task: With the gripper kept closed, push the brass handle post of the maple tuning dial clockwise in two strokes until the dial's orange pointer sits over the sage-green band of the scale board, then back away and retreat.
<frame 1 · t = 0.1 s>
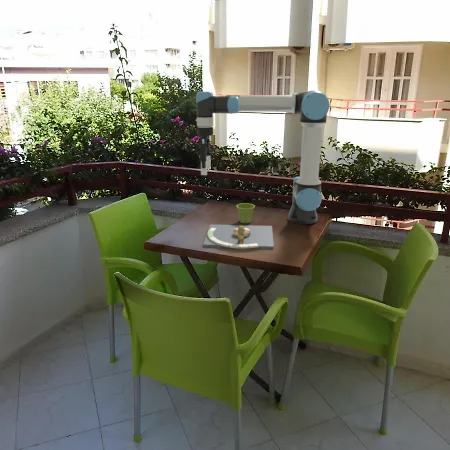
hand: (206, 171, 187), 28 cm above the table, fingers open, 13 cm apart
scale board: (241, 237, 182), on the table
plant pot: (245, 222, 203), on the table
dial: (241, 230, 176), point 5 cm above the table, hinge at 90.0°
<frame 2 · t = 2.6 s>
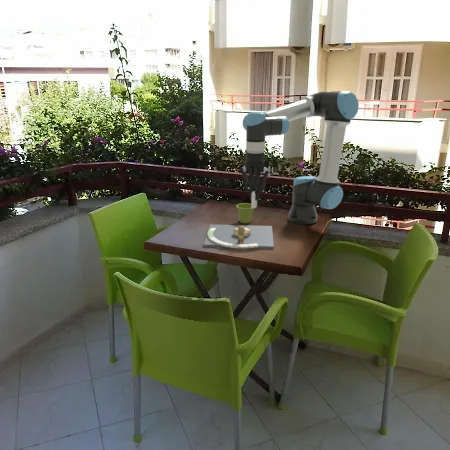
hand: (254, 207, 165), 18 cm above the table, fingers closed
nothing on the table moved.
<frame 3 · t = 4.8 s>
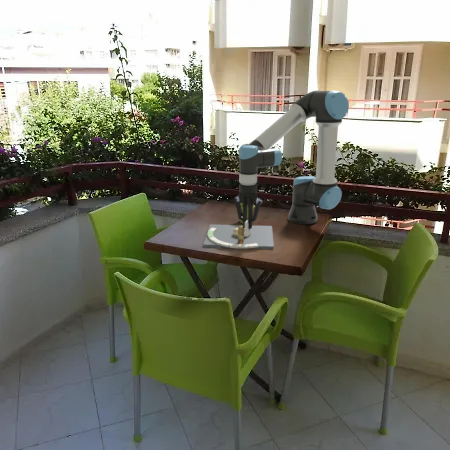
hand: (247, 235, 171), 5 cm above the table, fingers closed
dial: (241, 230, 176), point 5 cm above the table, hinge at 90.0°, touching gripper
everything else where it was.
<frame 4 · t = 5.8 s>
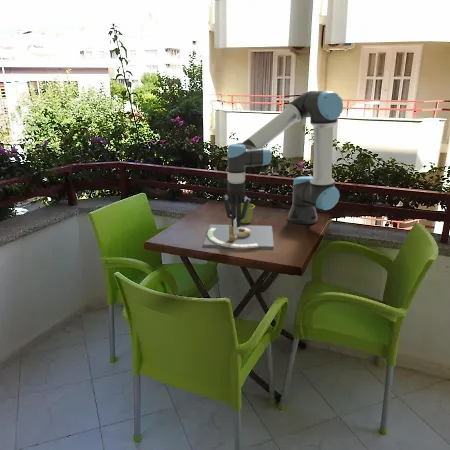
hand: (236, 233, 172), 5 cm above the table, fingers closed
dial: (237, 230, 177), point 5 cm above the table, hinge at 62.9°, touching gripper
everything else where it was.
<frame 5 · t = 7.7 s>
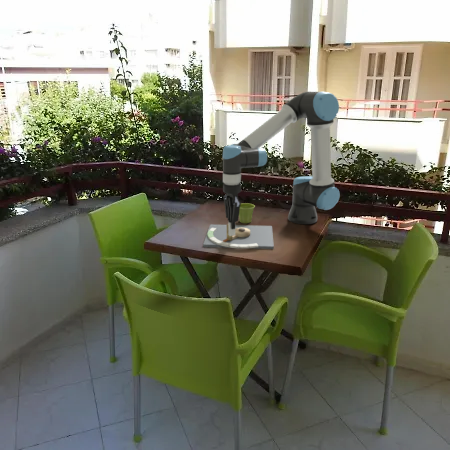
hand: (231, 235, 171), 5 cm above the table, fingers closed
dial: (235, 229, 177), point 5 cm above the table, hinge at 54.3°, touching gripper
everything else where it was.
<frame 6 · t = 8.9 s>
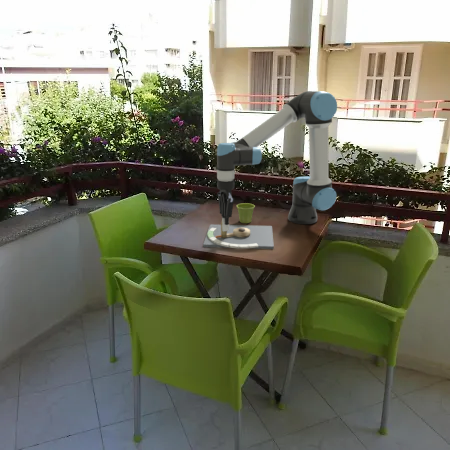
hand: (225, 230, 175), 5 cm above the table, fingers closed
dial: (232, 228, 179), point 5 cm above the table, hinge at 26.4°, touching gripper
everything else where it was.
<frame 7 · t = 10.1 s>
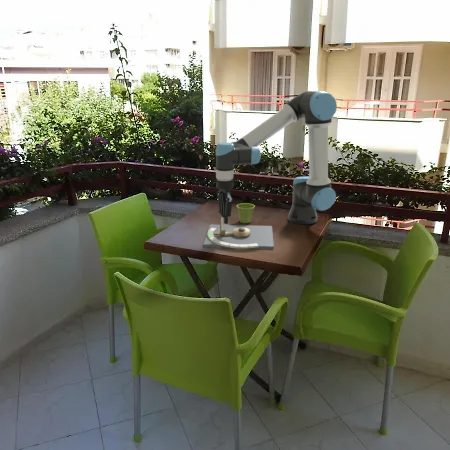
hand: (224, 229, 177), 5 cm above the table, fingers closed
dial: (232, 227, 180), point 5 cm above the table, hinge at 10.6°, touching gripper
everything else where it was.
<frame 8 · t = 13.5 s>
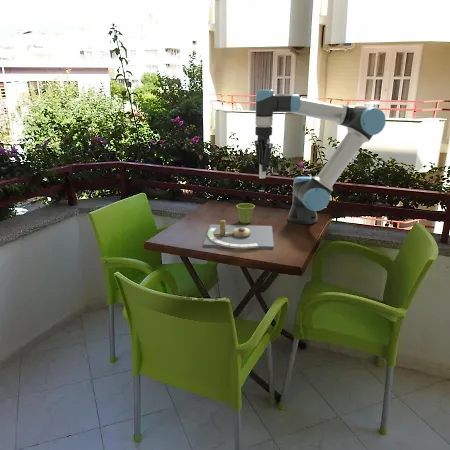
hand: (262, 178, 181), 26 cm above the table, fingers closed
dial: (232, 227, 180), point 5 cm above the table, hinge at 11.8°
everything else where it was.
at the end: dial at +12° (first picture: +90°) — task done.
